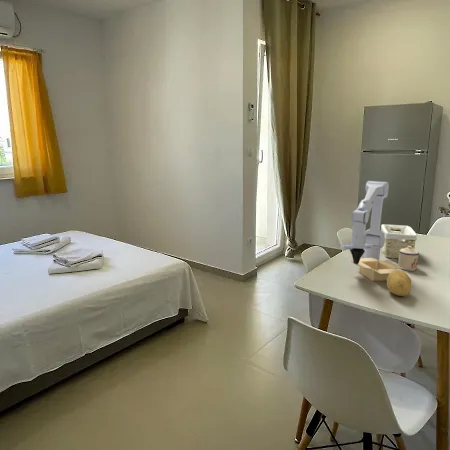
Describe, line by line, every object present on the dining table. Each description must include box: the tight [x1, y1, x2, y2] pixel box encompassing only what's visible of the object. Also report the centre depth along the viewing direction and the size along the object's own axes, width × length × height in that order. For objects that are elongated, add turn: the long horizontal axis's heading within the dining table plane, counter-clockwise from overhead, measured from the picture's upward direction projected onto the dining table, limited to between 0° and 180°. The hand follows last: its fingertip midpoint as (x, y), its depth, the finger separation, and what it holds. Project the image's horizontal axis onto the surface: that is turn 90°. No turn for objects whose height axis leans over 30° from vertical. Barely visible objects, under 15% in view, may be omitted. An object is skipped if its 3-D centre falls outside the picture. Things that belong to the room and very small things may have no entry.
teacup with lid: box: [397, 246, 420, 271], centre depth 187 cm, size 12×9×12 cm
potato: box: [386, 269, 413, 297], centre depth 153 cm, size 10×14×10 cm
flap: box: [351, 259, 372, 270], centre depth 172 cm, size 10×5×1 cm, turn 10°
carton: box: [358, 258, 403, 282], centre depth 175 cm, size 22×15×8 cm
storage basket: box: [380, 224, 418, 259], centre depth 211 cm, size 24×16×15 cm
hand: (355, 263), depth 172 cm, fingers closed
